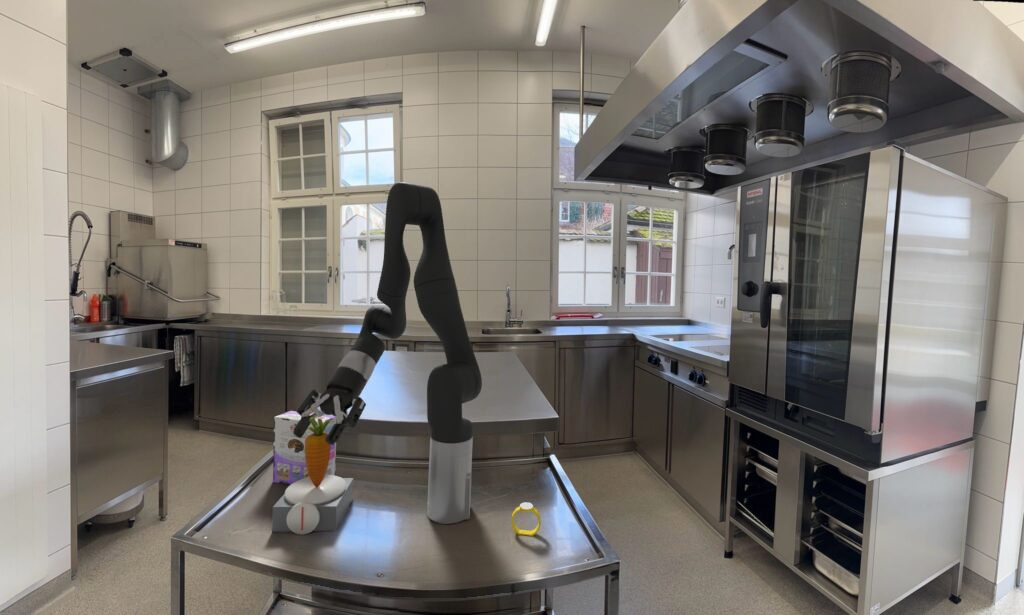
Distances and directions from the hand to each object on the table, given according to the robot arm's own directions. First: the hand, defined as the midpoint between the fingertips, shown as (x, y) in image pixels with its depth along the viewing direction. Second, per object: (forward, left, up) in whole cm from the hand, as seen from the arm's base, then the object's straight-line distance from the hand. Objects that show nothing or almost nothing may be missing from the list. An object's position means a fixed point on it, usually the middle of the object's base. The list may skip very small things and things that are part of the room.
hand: (312, 439), depth 84 cm
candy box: (+7, -16, -17) cm, 24 cm away
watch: (-45, +7, -17) cm, 48 cm away
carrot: (-1, -1, -11) cm, 11 cm away
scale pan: (-1, -1, -12) cm, 12 cm away
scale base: (-1, -1, -17) cm, 17 cm away
